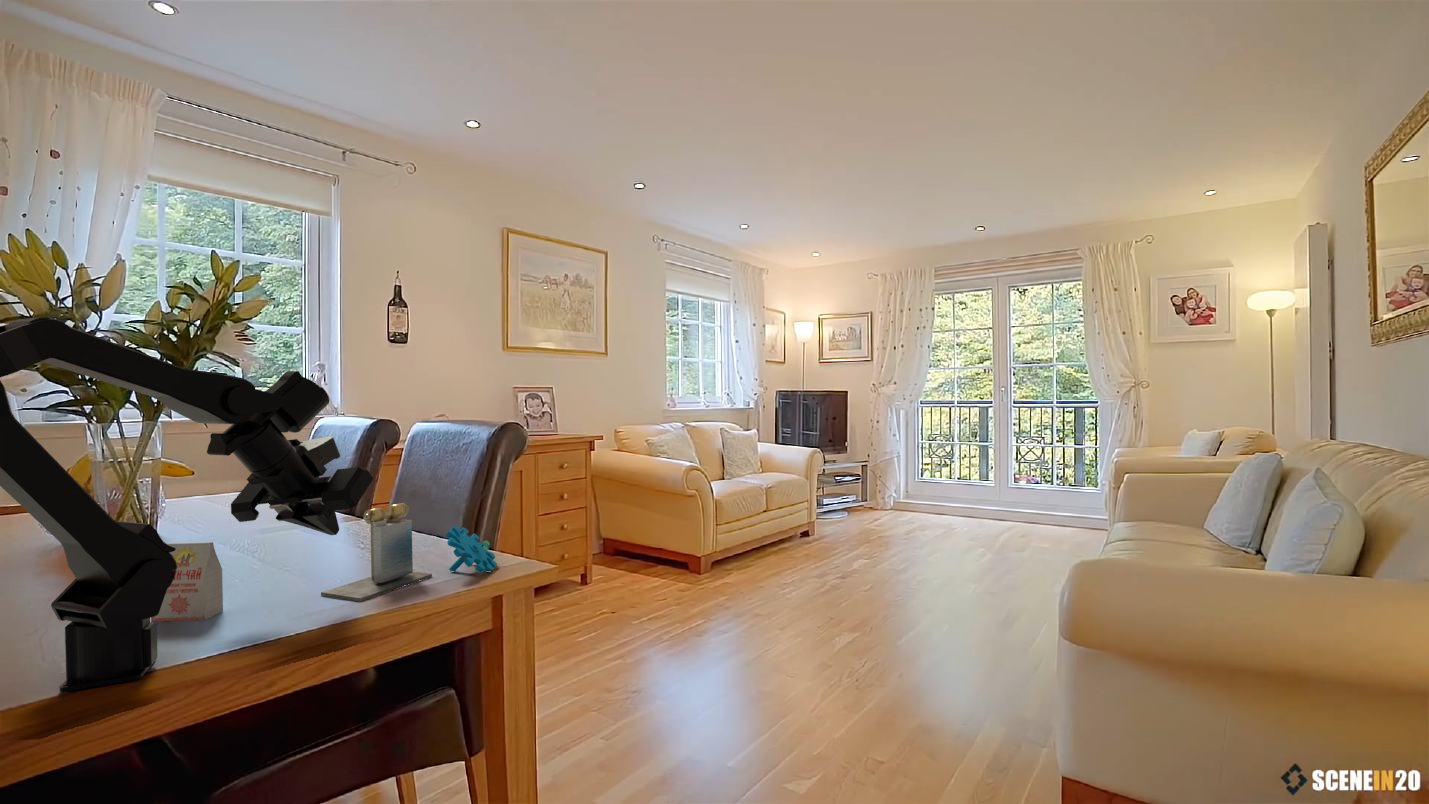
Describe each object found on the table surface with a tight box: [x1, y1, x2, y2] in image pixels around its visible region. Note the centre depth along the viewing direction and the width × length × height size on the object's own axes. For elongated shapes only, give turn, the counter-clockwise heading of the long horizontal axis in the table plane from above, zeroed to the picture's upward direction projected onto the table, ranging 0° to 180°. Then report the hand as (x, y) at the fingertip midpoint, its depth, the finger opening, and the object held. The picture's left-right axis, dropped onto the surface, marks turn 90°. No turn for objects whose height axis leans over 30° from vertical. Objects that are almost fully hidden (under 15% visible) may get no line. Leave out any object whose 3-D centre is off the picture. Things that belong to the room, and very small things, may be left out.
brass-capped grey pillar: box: [363, 507, 414, 583], centre depth 106 cm, size 7×4×11 cm, turn 158°
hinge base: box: [320, 502, 433, 602], centre depth 104 cm, size 14×8×12 cm, turn 158°
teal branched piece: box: [445, 525, 498, 574], centre depth 112 cm, size 11×6×10 cm
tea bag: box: [150, 541, 224, 623], centre depth 91 cm, size 4×7×10 cm, turn 94°
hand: (335, 532), depth 98 cm, fingers closed
